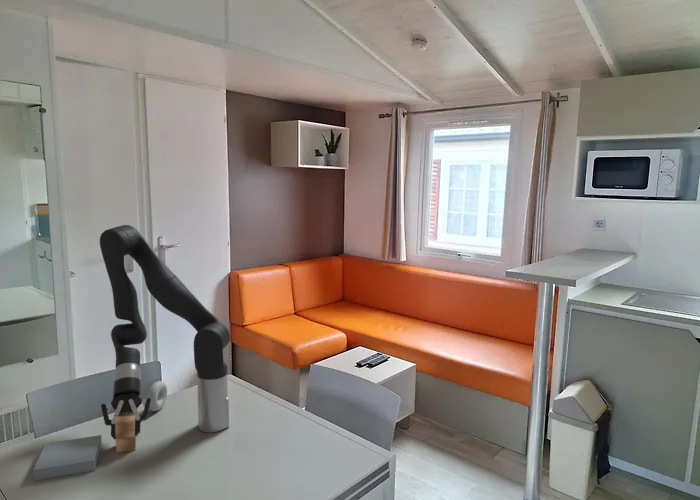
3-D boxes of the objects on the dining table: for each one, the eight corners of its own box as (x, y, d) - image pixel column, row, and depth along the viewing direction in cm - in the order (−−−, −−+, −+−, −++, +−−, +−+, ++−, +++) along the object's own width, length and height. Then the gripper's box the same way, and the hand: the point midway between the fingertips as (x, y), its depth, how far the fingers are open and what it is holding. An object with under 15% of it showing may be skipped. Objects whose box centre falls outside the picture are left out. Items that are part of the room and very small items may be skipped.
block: (136, 441, 141) (135, 412, 140) (135, 449, 137) (134, 420, 136) (118, 444, 139) (116, 415, 138) (116, 453, 135) (115, 423, 134)
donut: (154, 416, 157) (153, 388, 156) (145, 416, 157) (144, 387, 156) (169, 403, 167) (168, 376, 166) (160, 403, 167) (159, 376, 166)
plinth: (101, 444, 139) (101, 435, 139) (94, 470, 126) (94, 460, 126) (46, 453, 134) (46, 443, 134) (33, 481, 121) (32, 470, 121)
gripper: (99, 379, 140) (95, 436, 130) (151, 373, 145) (151, 428, 136) (103, 389, 146) (99, 445, 136) (153, 383, 151) (153, 436, 141)
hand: (125, 436), depth 136 cm, fingers closed on block, 5 cm apart
